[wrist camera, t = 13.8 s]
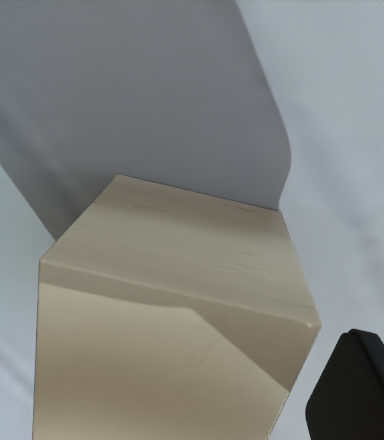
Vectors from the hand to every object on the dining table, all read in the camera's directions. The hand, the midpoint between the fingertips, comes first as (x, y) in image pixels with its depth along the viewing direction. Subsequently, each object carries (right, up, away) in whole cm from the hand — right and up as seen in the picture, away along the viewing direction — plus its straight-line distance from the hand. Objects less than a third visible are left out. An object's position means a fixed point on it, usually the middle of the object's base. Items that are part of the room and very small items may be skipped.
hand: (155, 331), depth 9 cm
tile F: (+1, +2, +2) cm, 3 cm away
